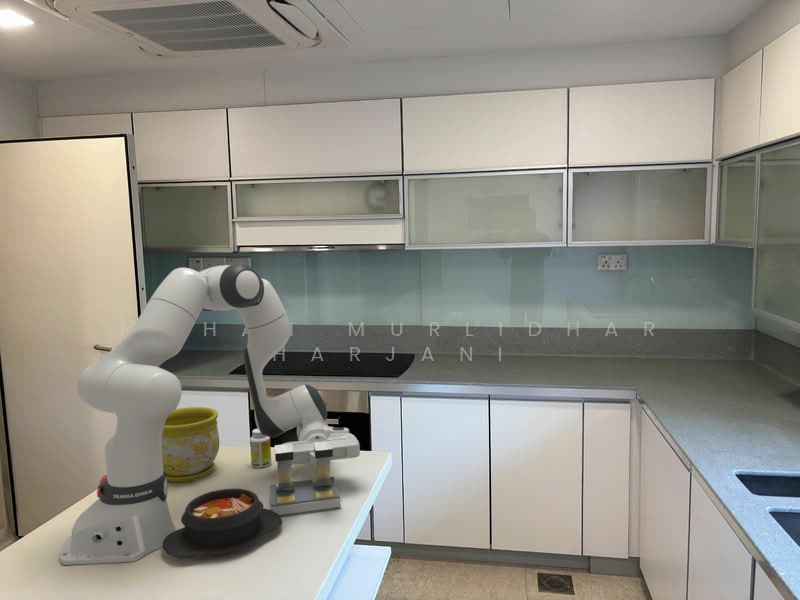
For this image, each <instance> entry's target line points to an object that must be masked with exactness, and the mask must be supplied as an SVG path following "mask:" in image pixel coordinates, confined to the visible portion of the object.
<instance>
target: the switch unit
mask: <svg viewBox="0 0 800 600" xmlns="http://www.w3.org/2000/svg"><path fill="white" fill-rule="evenodd" d="M330 480H331V482H332V486H327V487H319V488H313V482H316V477H315V478H311V479H304V480H296V481H292V485H294V489H295V491H287V492H279V493H276V487H278V482H277V483H272V484H269V490H270V491H269V492H270V506H271V509H270V510H271V511H274V512H275V513H277V514H278V515H279V516H280V517H286V516H293V515H294V516H295V515H301V514H308V513H317V512H323V511H331V510H338V509H341V496H340V492H339V488H338V487H337V483H336V480H335V477H334V476H330Z"/></svg>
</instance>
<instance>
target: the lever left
mask: <svg viewBox="0 0 800 600" xmlns="http://www.w3.org/2000/svg"><path fill="white" fill-rule="evenodd" d="M274 457H275V460H274V461H275V463H276V467H277V468H276V469H277V483H278V487H276V493H279V492H287V491H295V489H294V485H292V482H293V478H292V477H293V474H292V473H293V472H292V470H293V469H292V467H293V465H292V461H291V460H293V445H292V444H284V445H281V444H277V445H276V444H275V445H274Z"/></svg>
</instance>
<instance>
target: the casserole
mask: <svg viewBox="0 0 800 600" xmlns="http://www.w3.org/2000/svg"><path fill="white" fill-rule="evenodd" d="M184 510H185V511H184V512H183V514H182V515H181V519H180V520H181V524H182V525H183V526H184V527H182V528H179V529H177V530H176V529H175V530H176V531H174V532H172V533H170V534H169V535H167V536H166V538H165V539H164V541H163V546H162V549H163V550H164V552H165V553H166V554H167V555H169V556H171V557H174V558H176V559H177V558H179V559H185V558H192V557H197V556H205V555H206V556H207V555H208V556H209V555H220V554H227V553H228V554H229V553H231V552H235V551H239V550H242V549H244V548H246V547H249V546H250V545H253V544H254V543H256V542H257V541H259V540H261V539H262V538H263V537H264V536H266V535H269V534H270V533H272V532H275V531H276V530H278V529H279V528H280V527H281V526H282V524H283V521H282V518H281V517H282V516H279V515H278V514H277V513H275V512H274V511H271V509H268V508H264V504H263V503H262V501H261V500H260V499H259V497H258V495H257V493H255V492H253V491H251V490H248V489H245V488H224V489H223V488H221V489H218V490H213V491H209V492H206V493H203V494H200V495H199V496H197V497H195V498H194V499H192V500H190V501H189V503H187V505H186V507H185V509H184Z"/></svg>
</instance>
